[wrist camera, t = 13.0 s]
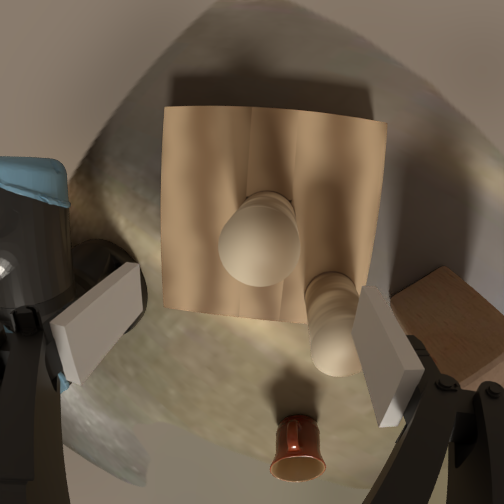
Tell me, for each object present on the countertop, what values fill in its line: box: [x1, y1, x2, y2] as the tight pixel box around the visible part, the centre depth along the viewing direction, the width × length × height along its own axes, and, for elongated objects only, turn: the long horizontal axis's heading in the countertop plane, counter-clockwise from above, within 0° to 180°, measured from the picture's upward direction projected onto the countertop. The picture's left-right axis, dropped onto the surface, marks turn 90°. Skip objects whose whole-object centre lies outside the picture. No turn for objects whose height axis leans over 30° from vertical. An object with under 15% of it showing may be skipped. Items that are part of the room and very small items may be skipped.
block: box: [390, 266, 504, 391], centre depth 30 cm, size 10×10×20 cm
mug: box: [270, 415, 326, 482], centre depth 43 cm, size 12×9×10 cm
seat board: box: [161, 106, 387, 377], centre depth 30 cm, size 24×24×16 cm
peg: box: [218, 190, 300, 287], centre depth 30 cm, size 6×6×16 cm
